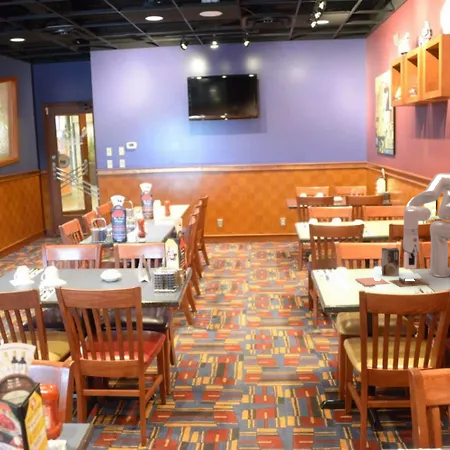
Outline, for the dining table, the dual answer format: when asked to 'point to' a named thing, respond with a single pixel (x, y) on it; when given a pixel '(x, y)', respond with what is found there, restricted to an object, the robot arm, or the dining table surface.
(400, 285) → the brown rectangular board
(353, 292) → the dining table surface
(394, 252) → the coffee box
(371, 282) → the reddish pink flat square
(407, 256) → the pink rounded block
